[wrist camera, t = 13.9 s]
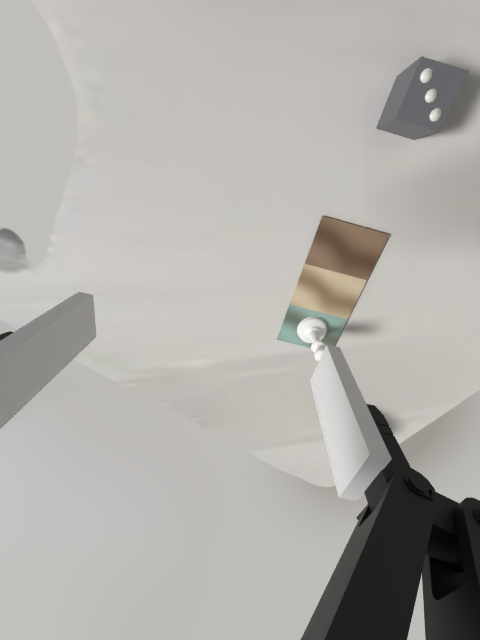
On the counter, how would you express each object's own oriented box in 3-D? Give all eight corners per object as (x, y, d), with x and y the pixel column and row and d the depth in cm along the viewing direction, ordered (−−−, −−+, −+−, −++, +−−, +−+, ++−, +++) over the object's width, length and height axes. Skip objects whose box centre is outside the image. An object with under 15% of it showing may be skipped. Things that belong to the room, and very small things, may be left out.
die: (397, 76, 30) (422, 55, 25) (438, 89, 30) (470, 71, 25) (376, 128, 32) (395, 118, 27) (414, 139, 32) (440, 131, 28)
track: (322, 215, 37) (323, 216, 37) (388, 234, 37) (389, 234, 37) (277, 338, 46) (277, 339, 46) (330, 352, 47) (330, 352, 47)
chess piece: (327, 316, 43) (345, 349, 34) (324, 341, 46) (340, 378, 37) (297, 316, 44) (308, 349, 35) (296, 341, 46) (305, 378, 37)
